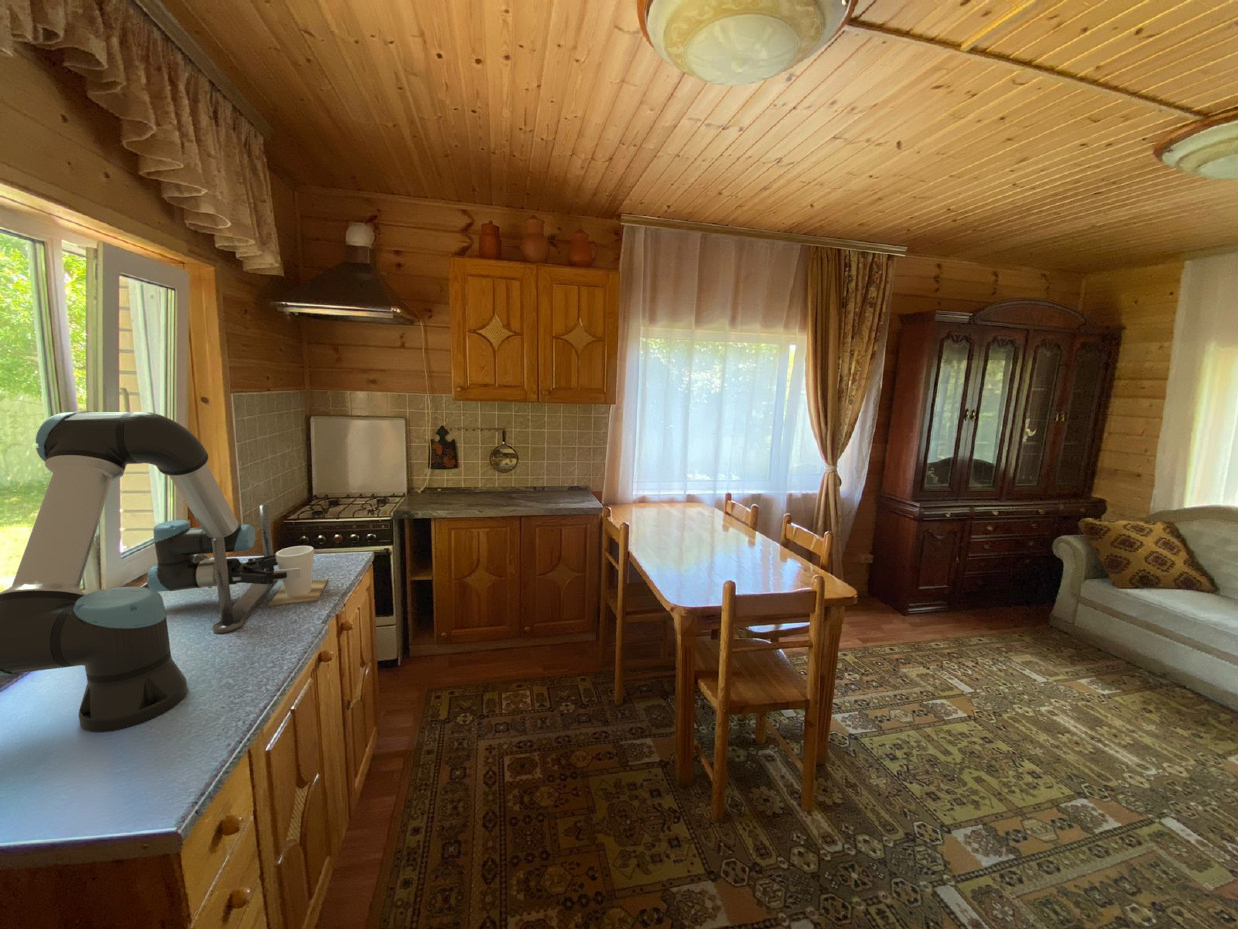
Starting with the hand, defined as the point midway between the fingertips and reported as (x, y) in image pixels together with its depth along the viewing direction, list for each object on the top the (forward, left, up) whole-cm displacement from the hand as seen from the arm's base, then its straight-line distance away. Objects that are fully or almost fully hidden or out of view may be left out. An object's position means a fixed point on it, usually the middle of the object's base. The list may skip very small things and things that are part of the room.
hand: (306, 564), depth 147 cm
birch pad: (+1, +2, -9) cm, 9 cm away
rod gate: (0, +14, -9) cm, 17 cm away
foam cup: (0, +2, -9) cm, 9 cm away
